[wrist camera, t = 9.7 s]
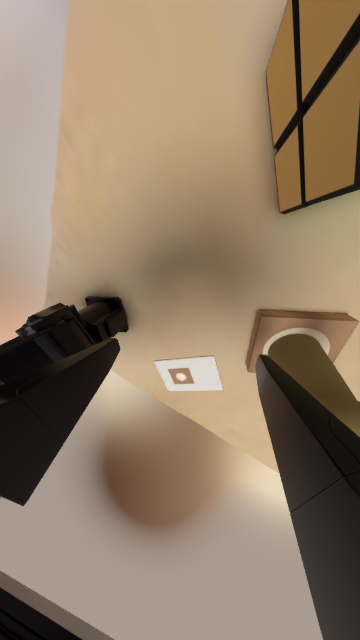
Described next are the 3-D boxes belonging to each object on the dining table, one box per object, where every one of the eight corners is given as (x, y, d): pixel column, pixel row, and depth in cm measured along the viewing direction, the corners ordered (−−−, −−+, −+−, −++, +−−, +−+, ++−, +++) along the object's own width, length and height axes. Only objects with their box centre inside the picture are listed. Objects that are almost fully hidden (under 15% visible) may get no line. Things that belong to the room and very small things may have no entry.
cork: (317, 327, 18) (431, 432, 8) (323, 363, 20) (418, 478, 10) (262, 340, 20) (303, 433, 11) (273, 371, 22) (314, 470, 13)
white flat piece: (168, 390, 33) (168, 391, 33) (153, 360, 30) (153, 362, 29) (222, 389, 29) (223, 391, 29) (213, 355, 26) (213, 357, 25)
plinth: (245, 362, 25) (247, 372, 23) (257, 309, 20) (262, 317, 18) (313, 370, 23) (322, 381, 21) (346, 313, 18) (360, 321, 16)
